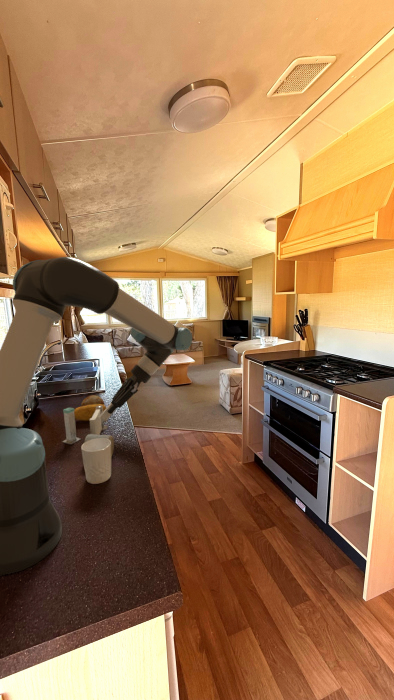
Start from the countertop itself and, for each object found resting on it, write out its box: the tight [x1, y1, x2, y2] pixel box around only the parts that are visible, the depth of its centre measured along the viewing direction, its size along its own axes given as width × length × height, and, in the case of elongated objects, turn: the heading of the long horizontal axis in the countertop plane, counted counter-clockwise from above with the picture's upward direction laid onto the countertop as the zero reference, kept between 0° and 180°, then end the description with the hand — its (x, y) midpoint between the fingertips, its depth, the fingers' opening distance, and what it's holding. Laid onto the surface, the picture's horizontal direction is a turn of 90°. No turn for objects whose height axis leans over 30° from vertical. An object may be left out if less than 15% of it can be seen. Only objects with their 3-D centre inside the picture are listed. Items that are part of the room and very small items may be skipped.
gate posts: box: [62, 405, 108, 445], centre depth 112 cm, size 18×5×12 cm, turn 144°
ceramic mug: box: [83, 433, 115, 457], centre depth 97 cm, size 11×8×8 cm
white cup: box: [80, 438, 112, 485], centre depth 85 cm, size 8×8×10 cm
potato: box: [74, 404, 107, 422], centre depth 126 cm, size 8×14×7 cm, turn 108°
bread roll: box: [80, 394, 105, 407], centre depth 139 cm, size 10×10×8 cm
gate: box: [89, 409, 102, 435], centre depth 109 cm, size 12×2×9 cm, turn 8°
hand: (102, 418), depth 111 cm, fingers closed
